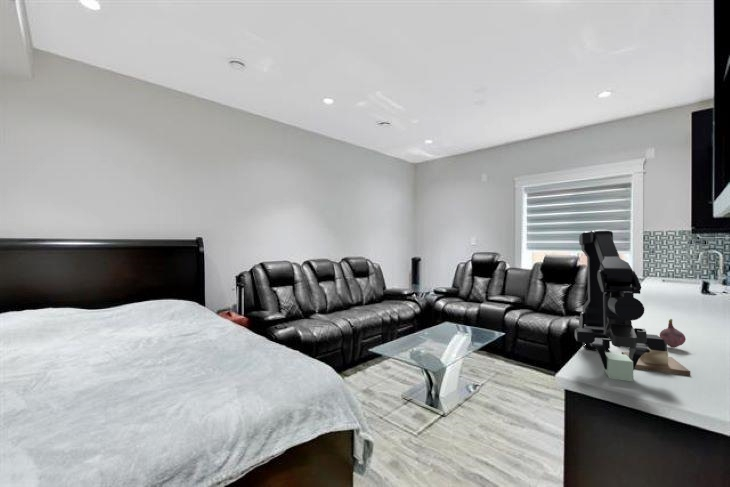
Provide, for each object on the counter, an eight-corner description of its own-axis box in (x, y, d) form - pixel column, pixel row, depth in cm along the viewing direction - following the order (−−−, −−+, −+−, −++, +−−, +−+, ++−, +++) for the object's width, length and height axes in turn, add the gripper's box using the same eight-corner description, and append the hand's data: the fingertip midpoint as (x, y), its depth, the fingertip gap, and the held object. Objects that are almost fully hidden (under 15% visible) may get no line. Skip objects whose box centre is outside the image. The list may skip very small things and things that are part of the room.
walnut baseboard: (632, 368, 89) (632, 364, 89) (621, 355, 100) (621, 351, 100) (690, 375, 84) (690, 371, 84) (671, 361, 94) (671, 357, 94)
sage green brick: (609, 378, 83) (609, 359, 83) (604, 370, 88) (603, 352, 88) (633, 381, 81) (633, 361, 81) (626, 373, 86) (626, 354, 86)
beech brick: (645, 362, 90) (644, 345, 90) (638, 356, 96) (638, 339, 96) (668, 365, 88) (667, 347, 88) (660, 358, 93) (659, 341, 94)
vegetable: (655, 345, 110) (654, 316, 110) (675, 345, 109) (674, 317, 109) (669, 350, 104) (668, 320, 104) (690, 351, 103) (689, 321, 103)
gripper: (579, 315, 82) (580, 375, 82) (675, 322, 73) (677, 389, 73) (573, 307, 92) (574, 361, 92) (658, 313, 83) (659, 372, 83)
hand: (617, 370), depth 84 cm, fingers closed on sage green brick, 5 cm apart
